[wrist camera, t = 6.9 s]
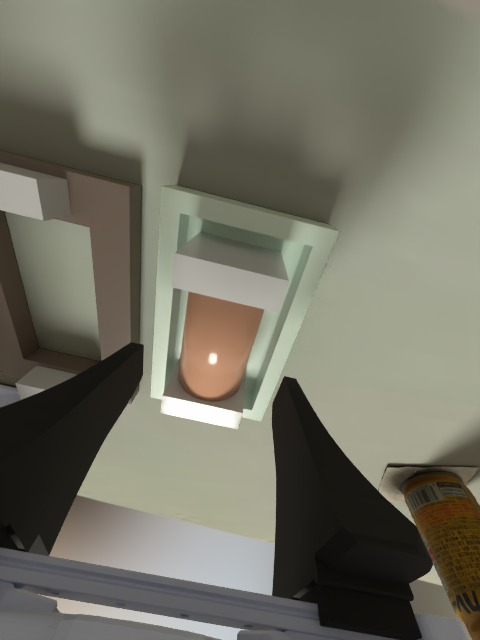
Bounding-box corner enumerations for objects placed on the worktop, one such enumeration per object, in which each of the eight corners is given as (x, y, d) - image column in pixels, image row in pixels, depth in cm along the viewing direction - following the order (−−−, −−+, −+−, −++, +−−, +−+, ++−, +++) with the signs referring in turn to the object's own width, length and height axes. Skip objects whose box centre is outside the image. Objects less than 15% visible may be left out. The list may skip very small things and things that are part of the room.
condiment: (453, 502, 28) (569, 696, 17) (374, 499, 29) (439, 681, 18) (476, 465, 24) (639, 680, 14) (385, 464, 25) (472, 663, 15)
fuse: (242, 375, 20) (237, 429, 16) (182, 362, 20) (160, 412, 15) (281, 251, 15) (289, 280, 10) (200, 231, 15) (174, 253, 10)
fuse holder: (138, 390, 22) (119, 423, 19) (18, 364, 22) (-21, 394, 19) (141, 186, 14) (108, 187, 11) (-55, 136, 13) (-146, 123, 10)
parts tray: (260, 398, 22) (260, 421, 20) (161, 376, 21) (150, 397, 19) (328, 224, 14) (339, 231, 12) (176, 185, 14) (161, 186, 12)
